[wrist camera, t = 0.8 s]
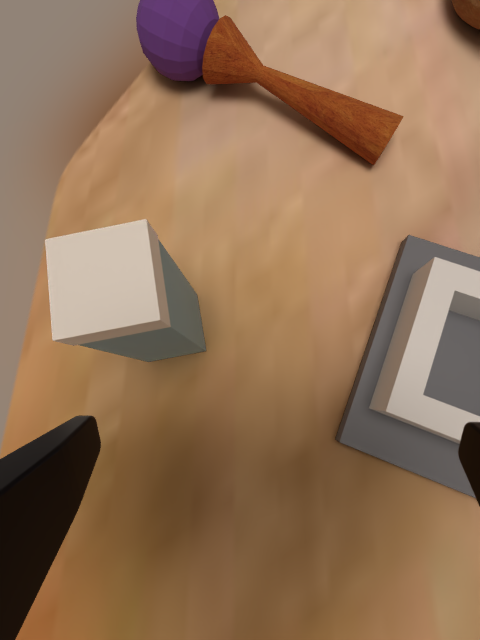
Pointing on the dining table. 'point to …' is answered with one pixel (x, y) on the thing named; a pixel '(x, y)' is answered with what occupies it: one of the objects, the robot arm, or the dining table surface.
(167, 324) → the box with white lid
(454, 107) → the dining table surface
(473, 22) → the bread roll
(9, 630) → the robot arm
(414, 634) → the dining table surface
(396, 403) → the board
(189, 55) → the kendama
